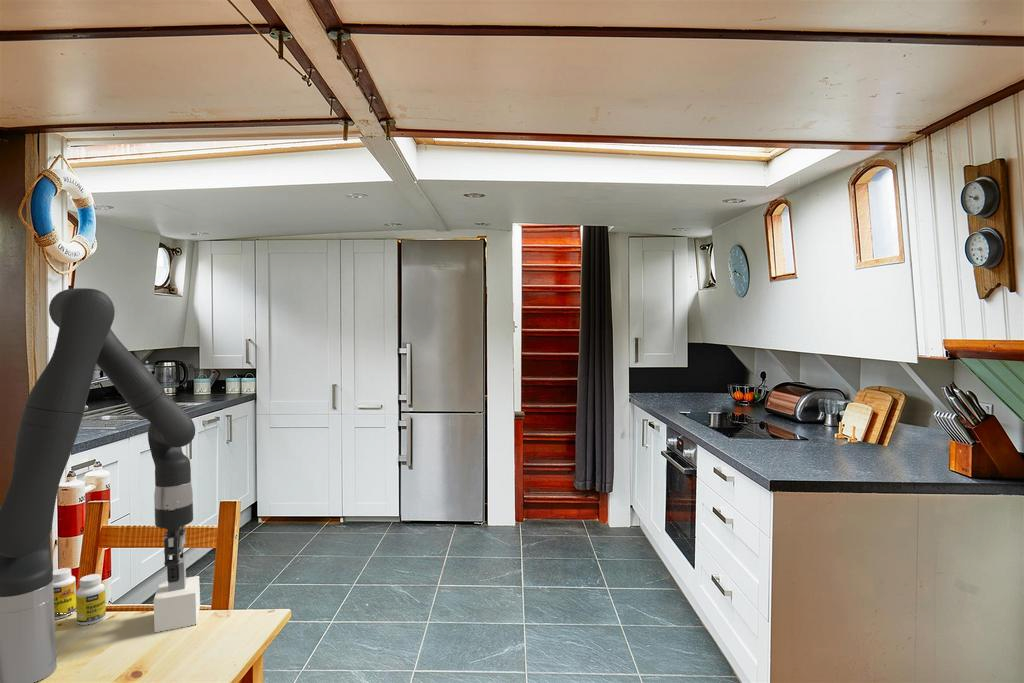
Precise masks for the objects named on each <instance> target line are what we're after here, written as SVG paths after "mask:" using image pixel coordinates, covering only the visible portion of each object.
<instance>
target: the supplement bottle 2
mask: <svg viewBox="0 0 1024 683" xmlns="http://www.w3.org/2000/svg"><path fill="white" fill-rule="evenodd" d="M101 582H102V574H99V573H90V574H88V575H85V576H82V577H81V578H80V579H79V588H78V589H76V611H75V613H76V624H78V625H79V624H80V626H88V624H89V625H93V624H96V623H99V622H101V621H102V620H104V619H105V618H106V613H107V612H106V586H105V584H103V583H101Z"/></svg>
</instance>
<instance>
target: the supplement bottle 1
mask: <svg viewBox="0 0 1024 683" xmlns="http://www.w3.org/2000/svg"><path fill="white" fill-rule="evenodd" d="M76 581H77V579H76V576H74V575H72V568H70V567H63V568H58V569H55V570H54V569H53V590H54V614H55V620H61V619H60V618H62V619H64V618H63V617H65V618H68V617H67V616H66V615H67V614H72V615H73V614H75V613H76V592H77V586H76V585H77V583H76ZM71 612H72V613H71ZM57 613H58V614H57ZM60 613H63V614H60ZM64 613H66V614H64Z"/></svg>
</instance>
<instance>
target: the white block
mask: <svg viewBox="0 0 1024 683" xmlns="http://www.w3.org/2000/svg"><path fill="white" fill-rule="evenodd" d="M179 560H180V563H179V581H177V582H171V583H169V582H168V580H164V581H160V582H159V584H158V587H157V589H156V593H155V595H154V598H153V618H154V620H153V623H154V633H155V632H157V633H161V632H160V631H162V632H167V631H166V630H168V631H172V630H171V629H173V630H177V628H178V629H182V628H181V627H183V628H187V626H189V627H192V626H191V625H194V626H196V625H195V624H198V620H197V619H199V614H198V613H200V608H201V593H200V592H201V590H200V575H196V576H189V577H187V567H186V557H183V558H179Z"/></svg>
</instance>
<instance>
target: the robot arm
mask: <svg viewBox="0 0 1024 683" xmlns="http://www.w3.org/2000/svg"><path fill="white" fill-rule="evenodd" d="M48 306H49V307H48V313H49V316H50V319H51V321H52V323H53V324H54V325H55V326H57V328H58V332H57V338H56V342H55V346H54V350H53V352H52V355H51V357H50V360H49V362H48V363H47V365H46V366H45V368H44V370H43V371H42V373H41V374H40V375H39V377H38V378H37V380H36V382H35V384H34V385H33V387H32V388H31V391H30V393H29V395H28V397H27V400H26V403H25V405H24V408H23V412H22V415H21V419H20V423H19V425H18V430H17V435H16V441H15V447H14V457H13V468H12V474H11V479H10V483H9V486H8V488H7V491H6V492H5V496H4V499H3V501H2V504H1V505H0V683H34V682H35V683H38V682H40V681H41V680H43V679H45V678H47V677H49V676H51V674H53V673H54V672H55V670H56V669H57V647H56V646H57V645H56V621H55V620H56V619H55V614H54V590H53V571H54V569H53V568H54V567H53V566H54V565H53V560H52V558H53V557H52V549H51V548H52V547H51V533H52V530H53V529H52V528H53V523H54V521H53V520H54V515H55V508H56V501H57V496H58V490H59V486H60V482H61V480H62V477H63V474H64V472H65V469H66V466H67V464H68V461H69V459H70V456H71V453H72V451H73V448H74V446H75V442H76V440H77V437H78V433H79V430H80V427H81V425H82V424H81V423H82V420H83V416H84V413H85V409H86V405H87V404H86V403H87V400H88V397H89V394H90V390H91V386H92V382H93V378H94V373H95V370H96V365H97V366H98V367H99V368H100V370H101V371H102V372H103V373H104V375H105V376H106V377H107V378H108V380H109V381H110V382H111V383H112V385H113V386H114V387H115V389H116V390H117V391H118V393H119V394H120V395H121V397H122V398H123V399H124V400H125V401H126V403H127V404H128V405H129V407H130V408H131V409H132V410H133V411H134V413H135V414H136V415H138V416H140V418H141V417H142V418H143V419H146V420H147V421H149V423H150V424H149V426H148V429H147V440H148V445H149V450H150V455H151V458H152V461H153V464H154V485H155V487H154V493H153V494H154V495H153V497H154V500H153V501H154V505H153V506H154V525H155V527H156V528H158V529H166V531H165V534H164V535H163V543H164V545H163V546H164V547H163V548H164V549H163V550H164V551H163V554H164V563H163V564H164V565H163V566H165V567H167V568H166V570H167V571H166V572H167V576H166V577H167V581H168V582H169V583H171V582H177V581H179V563H180V560H179V558H184V550H185V544H186V531H187V530H186V529H185V526H187V525H190V524H191V523H192V522H193V521H194V503H193V502H194V498H193V494H194V493H193V487H192V474H191V473H192V472H191V471H192V469H191V468H192V467H191V461H190V458H188V456H187V455H185V454H184V452H183V448H182V447H185V446H188V445H189V444H190V443H191V442H192V441H193V440H194V439H195V436H196V426H195V423H194V421H193V419H192V418H191V416H190V415H189V414H188V413H187V412H186V411H185V410H184V409H183V408H182V407H181V406H180V405H179V404H177V402H176V401H175V400H173V399H172V398H171V397H170V396H169V395H168V394H167V392H166V391H165V390H164V388H163V387H162V386H161V384H160V383H159V381H158V380H157V379H156V377H155V375H153V373H152V372H151V371H150V370H149V369H148V368H147V366H145V364H143V362H141V361H140V360H139V359H138V358H137V357H136V356H135V355H134V354H133V353H132V352H131V351H130V350H129V349H128V348H127V347H126V346H125V345H124V344H123V343H122V342H121V340H120V339H119V338H118V337H117V335H116V334H115V333H114V331H113V330H112V324H113V323H114V319H115V312H116V311H115V305H114V303H113V301H112V299H111V298H110V297H109V295H107V294H106V293H105V292H103V291H101V290H98V289H95V288H81V287H80V288H76V287H74V288H68V289H63V290H62V291H60V292H58V293H56V294H55V295H54V296H53V297H52V299H51V300H50V302H49V305H48ZM183 547H184V548H183ZM170 557H171V559H170ZM37 681H38V682H37Z"/></svg>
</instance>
